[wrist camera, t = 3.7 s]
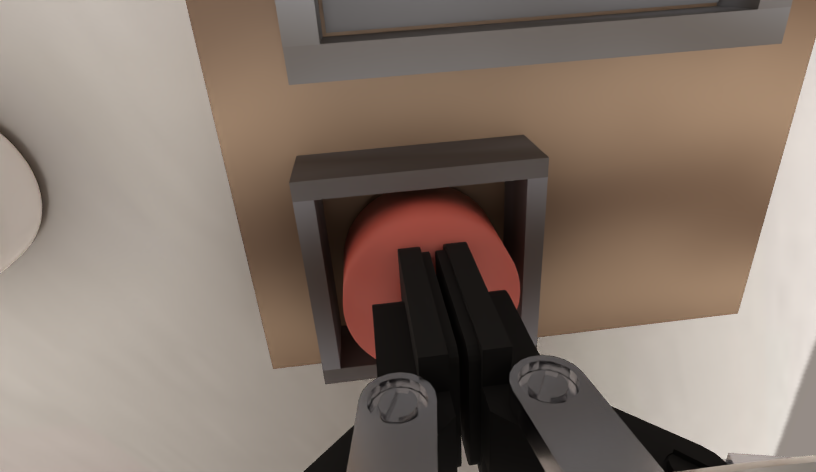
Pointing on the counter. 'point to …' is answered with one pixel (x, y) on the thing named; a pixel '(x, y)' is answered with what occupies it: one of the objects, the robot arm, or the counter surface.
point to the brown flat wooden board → (506, 146)
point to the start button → (414, 227)
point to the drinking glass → (17, 204)
